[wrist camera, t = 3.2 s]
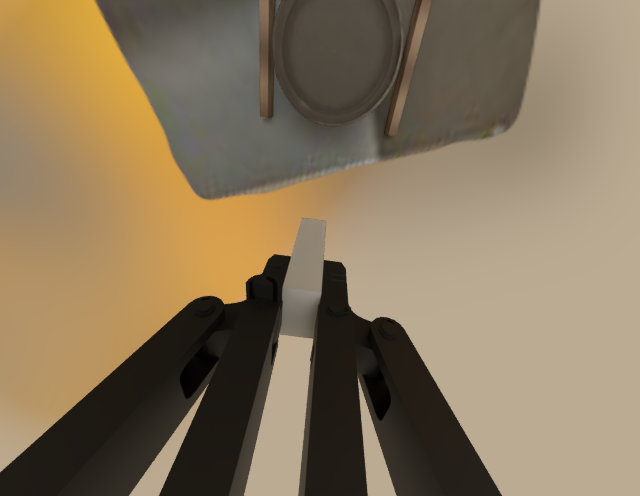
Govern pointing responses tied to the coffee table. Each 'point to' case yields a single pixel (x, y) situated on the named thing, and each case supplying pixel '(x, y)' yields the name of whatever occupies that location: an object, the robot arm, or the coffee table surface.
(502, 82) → the coffee table surface
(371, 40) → the coffee can
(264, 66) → the slot rails
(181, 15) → the coffee table surface
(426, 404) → the robot arm
